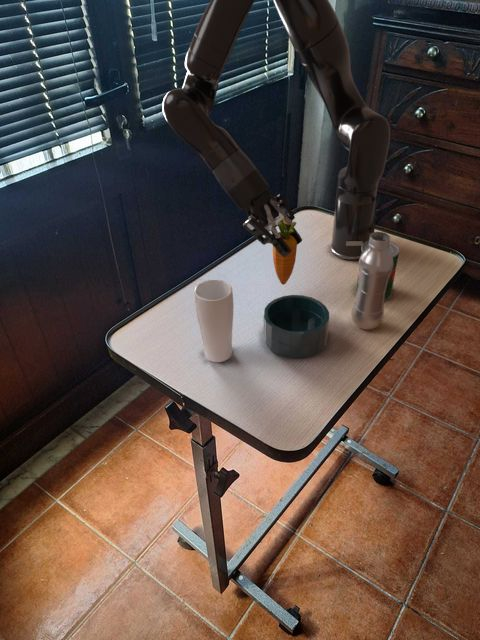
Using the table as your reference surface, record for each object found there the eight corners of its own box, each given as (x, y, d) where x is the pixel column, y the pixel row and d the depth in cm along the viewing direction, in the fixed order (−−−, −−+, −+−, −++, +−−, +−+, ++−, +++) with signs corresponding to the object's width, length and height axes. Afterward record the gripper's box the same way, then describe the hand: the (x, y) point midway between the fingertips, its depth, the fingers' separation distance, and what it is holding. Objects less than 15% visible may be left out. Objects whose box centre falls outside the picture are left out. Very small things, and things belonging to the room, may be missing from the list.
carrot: (295, 278, 114) (298, 215, 104) (294, 291, 110) (297, 227, 100) (272, 277, 114) (274, 214, 104) (270, 290, 110) (272, 226, 101)
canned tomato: (398, 296, 114) (407, 252, 107) (369, 305, 111) (376, 261, 104) (376, 278, 120) (384, 236, 112) (348, 287, 117) (354, 244, 110)
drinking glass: (204, 369, 96) (197, 303, 87) (197, 346, 101) (190, 282, 92) (239, 362, 98) (237, 297, 88) (231, 340, 103) (227, 276, 93)
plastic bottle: (371, 311, 110) (385, 225, 97) (388, 329, 105) (405, 241, 92) (344, 317, 108) (355, 231, 95) (360, 336, 103) (374, 248, 90)
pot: (302, 311, 110) (304, 288, 106) (339, 344, 102) (342, 319, 98) (252, 331, 105) (251, 307, 101) (286, 366, 97) (287, 342, 93)
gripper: (233, 182, 94) (290, 256, 98) (269, 157, 104) (320, 225, 107) (210, 203, 100) (265, 273, 103) (247, 177, 109) (296, 242, 113)
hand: (293, 248), depth 105 cm, fingers closed on carrot, 4 cm apart
